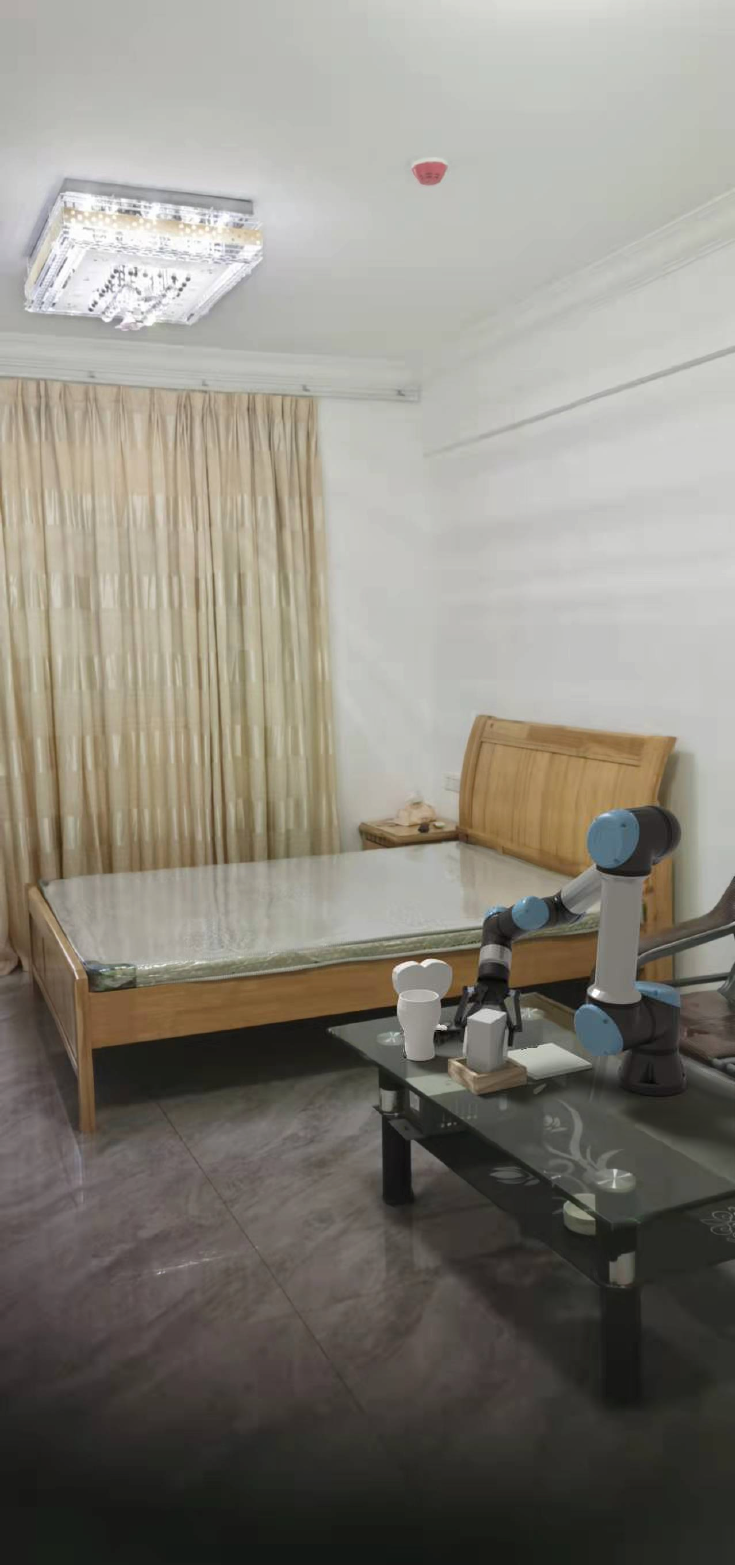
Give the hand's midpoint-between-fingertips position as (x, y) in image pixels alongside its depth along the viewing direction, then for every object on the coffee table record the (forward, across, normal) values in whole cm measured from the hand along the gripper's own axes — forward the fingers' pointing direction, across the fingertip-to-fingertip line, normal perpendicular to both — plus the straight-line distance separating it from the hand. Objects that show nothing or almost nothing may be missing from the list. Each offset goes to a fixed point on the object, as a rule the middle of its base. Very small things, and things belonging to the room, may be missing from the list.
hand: (484, 1056), depth 264 cm
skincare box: (+3, 0, -7) cm, 8 cm away
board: (-7, -12, -17) cm, 22 cm away
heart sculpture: (-19, +21, -29) cm, 40 cm away
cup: (-6, +18, -16) cm, 25 cm away
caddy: (+2, 0, -7) cm, 8 cm away
